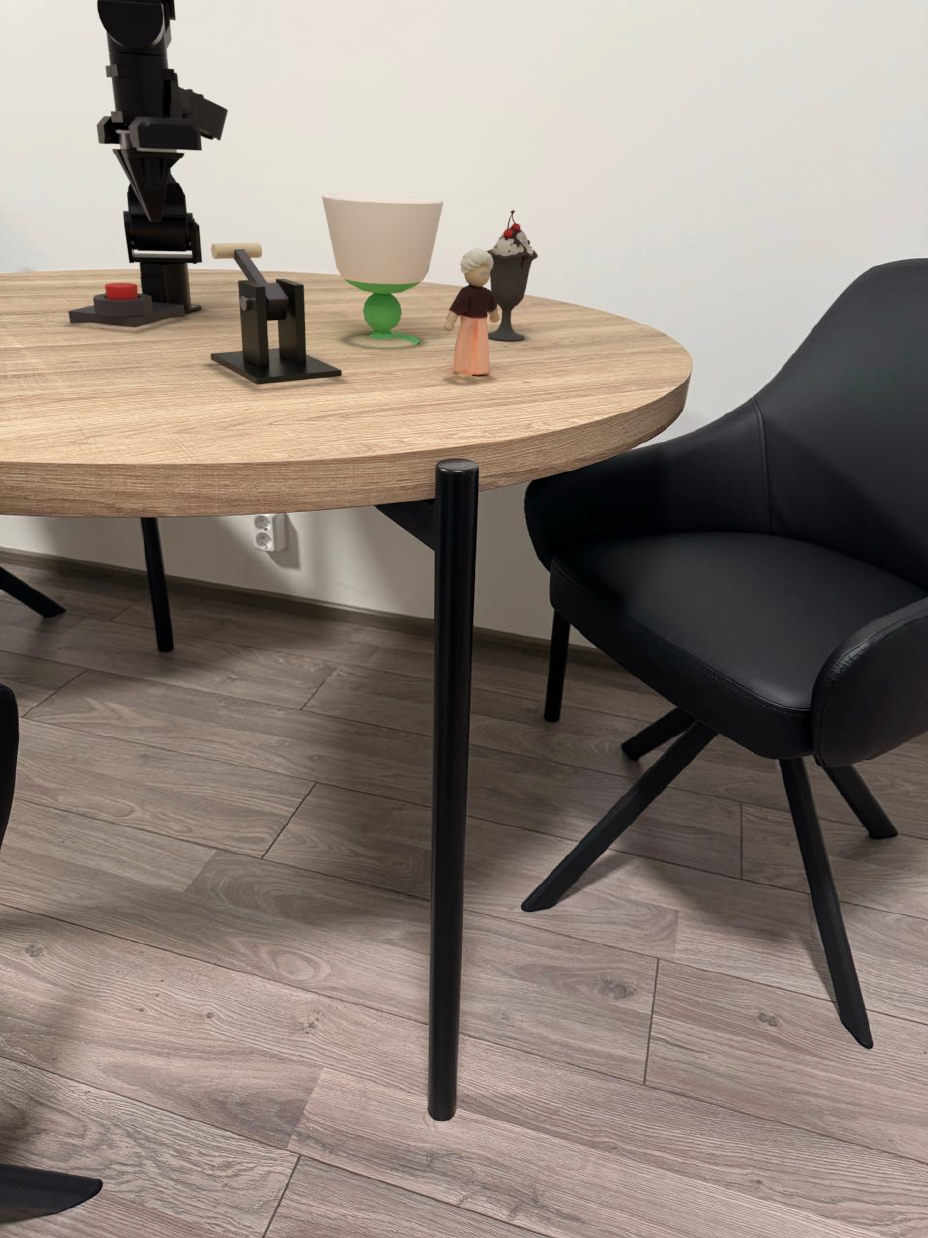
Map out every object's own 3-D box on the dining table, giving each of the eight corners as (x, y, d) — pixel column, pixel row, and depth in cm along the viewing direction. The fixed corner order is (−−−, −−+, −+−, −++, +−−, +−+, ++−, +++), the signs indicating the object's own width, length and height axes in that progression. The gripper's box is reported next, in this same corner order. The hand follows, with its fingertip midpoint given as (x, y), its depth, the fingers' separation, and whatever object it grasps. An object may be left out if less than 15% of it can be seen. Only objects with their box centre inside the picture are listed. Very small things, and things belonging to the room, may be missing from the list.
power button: (118, 296, 111) (116, 281, 110) (144, 299, 110) (142, 284, 109) (100, 300, 108) (98, 285, 107) (127, 303, 107) (125, 287, 106)
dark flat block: (123, 312, 119) (120, 283, 118) (186, 318, 117) (184, 289, 116) (66, 326, 109) (61, 295, 107) (134, 333, 107) (130, 302, 105)
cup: (301, 337, 110) (296, 193, 102) (385, 326, 119) (386, 192, 111) (378, 358, 102) (379, 202, 94) (462, 344, 111) (468, 201, 103)
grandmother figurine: (468, 388, 91) (475, 252, 85) (436, 381, 93) (440, 248, 87) (506, 375, 97) (514, 247, 91) (475, 369, 99) (482, 243, 93)
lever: (209, 257, 94) (211, 236, 92) (255, 256, 96) (258, 235, 94) (251, 322, 89) (254, 300, 87) (298, 319, 91) (302, 297, 89)
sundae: (495, 343, 112) (503, 210, 105) (470, 333, 117) (476, 205, 110) (541, 341, 115) (552, 211, 108) (514, 331, 120) (523, 206, 113)
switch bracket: (211, 364, 95) (203, 275, 91) (290, 357, 100) (286, 272, 95) (257, 391, 86) (251, 293, 82) (342, 381, 91) (340, 289, 87)
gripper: (246, 58, 90) (255, 229, 97) (189, 65, 104) (201, 214, 111) (130, 48, 85) (149, 229, 92) (87, 57, 98) (106, 214, 106)
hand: (155, 221), depth 100 cm, fingers closed
